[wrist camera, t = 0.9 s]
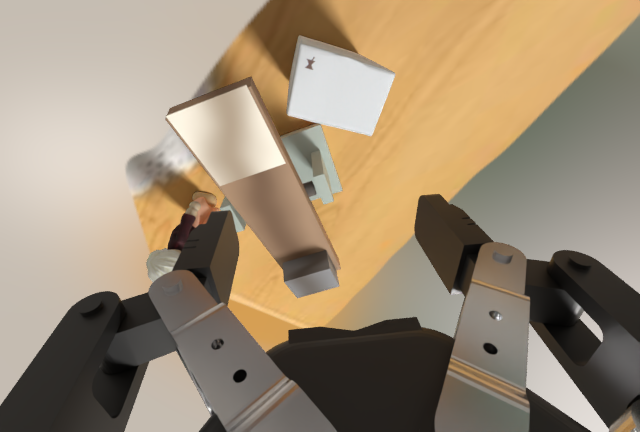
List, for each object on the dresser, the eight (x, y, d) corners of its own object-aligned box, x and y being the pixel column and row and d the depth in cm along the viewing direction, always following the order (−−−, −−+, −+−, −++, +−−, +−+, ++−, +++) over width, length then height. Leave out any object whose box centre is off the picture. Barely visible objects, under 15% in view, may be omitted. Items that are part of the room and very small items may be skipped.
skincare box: (288, 84, 29) (282, 115, 19) (298, 33, 27) (298, 39, 16) (347, 100, 30) (372, 138, 20) (361, 54, 28) (398, 70, 18)
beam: (259, 61, 20) (259, 96, 17) (341, 247, 37) (350, 285, 33) (163, 99, 21) (143, 141, 17) (286, 264, 38) (289, 302, 34)
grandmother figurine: (217, 232, 37) (184, 315, 27) (185, 226, 37) (138, 308, 26) (224, 179, 34) (190, 250, 23) (189, 171, 33) (136, 240, 22)
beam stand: (319, 121, 31) (324, 144, 25) (341, 186, 35) (350, 219, 29) (215, 159, 32) (196, 189, 26) (248, 217, 36) (238, 254, 31)
